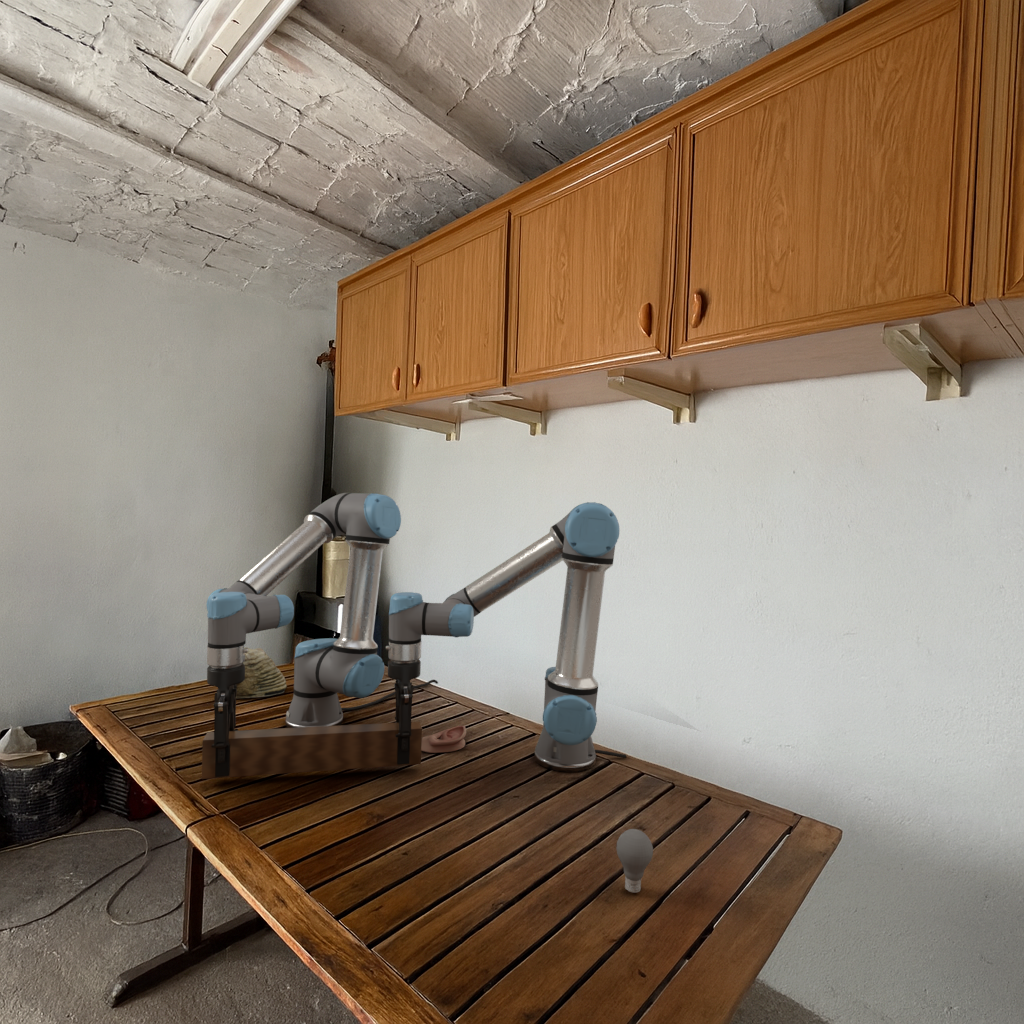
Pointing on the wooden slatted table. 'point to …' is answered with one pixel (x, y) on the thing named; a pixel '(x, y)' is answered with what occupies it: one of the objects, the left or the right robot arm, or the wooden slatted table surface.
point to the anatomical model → (445, 740)
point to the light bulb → (634, 857)
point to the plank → (311, 749)
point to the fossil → (260, 676)
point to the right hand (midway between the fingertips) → (402, 758)
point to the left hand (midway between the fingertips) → (224, 769)
